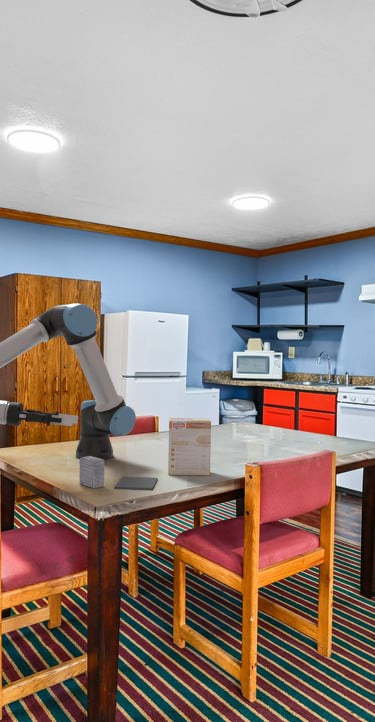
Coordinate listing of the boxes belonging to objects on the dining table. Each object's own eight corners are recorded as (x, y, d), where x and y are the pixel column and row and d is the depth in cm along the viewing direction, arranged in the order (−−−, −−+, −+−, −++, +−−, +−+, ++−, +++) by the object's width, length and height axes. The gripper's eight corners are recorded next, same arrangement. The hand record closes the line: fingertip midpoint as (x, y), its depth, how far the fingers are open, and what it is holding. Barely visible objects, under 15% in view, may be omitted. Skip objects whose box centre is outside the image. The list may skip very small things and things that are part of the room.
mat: (122, 478, 180) (122, 476, 180) (157, 479, 179) (157, 477, 179) (114, 488, 166) (114, 486, 166) (152, 490, 165) (152, 488, 165)
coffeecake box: (208, 471, 193) (210, 418, 193) (210, 476, 186) (211, 420, 186) (167, 470, 193) (169, 417, 193) (167, 475, 186) (169, 420, 185)
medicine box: (104, 486, 168) (105, 459, 168) (92, 489, 165) (93, 461, 165) (90, 481, 174) (91, 455, 174) (78, 484, 171) (79, 457, 170)
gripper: (15, 422, 181) (78, 430, 183) (-4, 427, 156) (68, 435, 158) (19, 401, 181) (81, 408, 183) (0, 401, 157) (72, 410, 158)
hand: (75, 420), depth 171 cm, fingers open, 13 cm apart
